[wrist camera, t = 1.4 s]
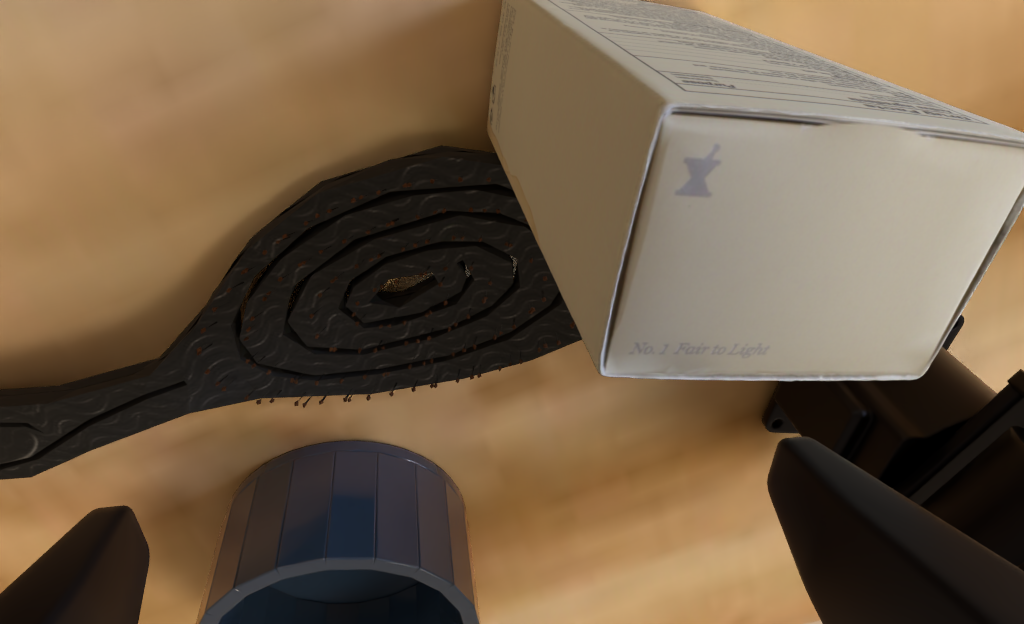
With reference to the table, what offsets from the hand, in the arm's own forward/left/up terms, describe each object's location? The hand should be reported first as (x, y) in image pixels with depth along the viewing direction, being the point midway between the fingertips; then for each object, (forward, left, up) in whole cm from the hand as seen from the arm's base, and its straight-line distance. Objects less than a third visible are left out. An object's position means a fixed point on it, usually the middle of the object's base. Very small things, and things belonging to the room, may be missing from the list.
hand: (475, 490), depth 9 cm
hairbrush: (+5, +7, -14) cm, 16 cm away
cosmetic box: (-5, -3, -14) cm, 15 cm away
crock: (+1, +17, -13) cm, 21 cm away
